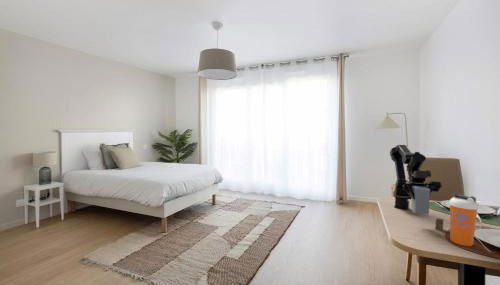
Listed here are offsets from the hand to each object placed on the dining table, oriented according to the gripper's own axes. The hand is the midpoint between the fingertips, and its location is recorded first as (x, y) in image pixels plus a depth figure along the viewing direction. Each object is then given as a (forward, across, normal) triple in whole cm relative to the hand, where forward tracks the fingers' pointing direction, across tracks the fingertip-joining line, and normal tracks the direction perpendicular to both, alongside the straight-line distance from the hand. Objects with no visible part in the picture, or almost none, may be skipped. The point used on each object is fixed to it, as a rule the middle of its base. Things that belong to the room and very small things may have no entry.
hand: (421, 199), depth 113 cm
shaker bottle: (+19, +11, 0) cm, 22 cm away
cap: (+4, 0, +6) cm, 7 cm away
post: (+10, +8, +10) cm, 16 cm away
